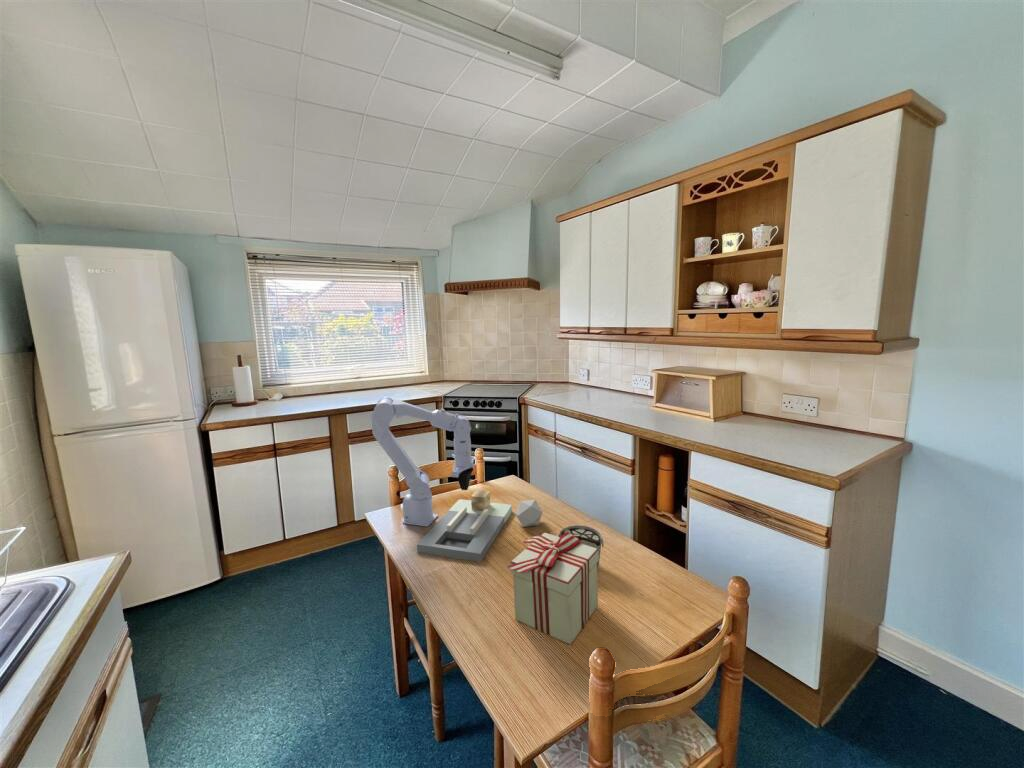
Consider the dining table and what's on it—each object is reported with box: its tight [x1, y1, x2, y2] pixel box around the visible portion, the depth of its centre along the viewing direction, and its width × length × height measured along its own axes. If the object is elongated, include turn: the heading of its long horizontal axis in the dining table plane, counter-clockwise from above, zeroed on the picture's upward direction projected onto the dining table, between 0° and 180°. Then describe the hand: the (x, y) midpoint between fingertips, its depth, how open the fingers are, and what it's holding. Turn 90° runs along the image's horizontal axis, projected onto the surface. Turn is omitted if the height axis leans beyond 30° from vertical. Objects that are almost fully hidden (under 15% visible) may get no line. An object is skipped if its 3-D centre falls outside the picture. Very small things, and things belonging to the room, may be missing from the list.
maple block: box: [470, 489, 491, 511], centre depth 146 cm, size 5×5×5 cm
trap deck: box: [416, 498, 513, 563], centre depth 136 cm, size 20×31×4 cm, turn 163°
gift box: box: [506, 532, 600, 645], centre depth 96 cm, size 17×18×17 cm
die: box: [515, 499, 543, 528], centre depth 138 cm, size 8×9×10 cm
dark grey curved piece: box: [557, 524, 605, 575], centre depth 115 cm, size 12×6×10 cm, turn 65°
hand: (464, 489), depth 145 cm, fingers closed
